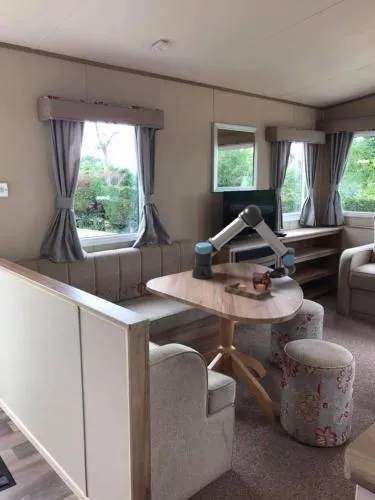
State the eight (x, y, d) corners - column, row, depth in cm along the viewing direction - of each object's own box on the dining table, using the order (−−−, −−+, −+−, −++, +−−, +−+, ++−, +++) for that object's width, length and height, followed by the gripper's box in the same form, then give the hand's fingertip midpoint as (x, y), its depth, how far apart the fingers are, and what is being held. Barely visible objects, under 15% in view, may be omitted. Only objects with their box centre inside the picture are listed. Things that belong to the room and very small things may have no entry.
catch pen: (224, 291, 258) (224, 286, 257) (238, 286, 269) (238, 282, 268) (257, 300, 242) (257, 295, 242) (270, 295, 253) (271, 290, 253)
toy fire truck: (270, 291, 261) (271, 275, 259) (250, 288, 265) (251, 273, 263) (271, 288, 268) (272, 272, 266) (252, 286, 272) (253, 270, 269)
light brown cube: (237, 285, 257) (242, 284, 260) (237, 291, 258) (241, 290, 260) (242, 287, 254) (247, 286, 257) (242, 293, 255) (246, 292, 257)
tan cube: (256, 291, 260) (256, 285, 259) (259, 290, 263) (259, 283, 263) (262, 292, 258) (262, 286, 257) (264, 291, 261) (265, 285, 260)
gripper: (272, 265, 288) (254, 270, 270) (289, 268, 280) (272, 273, 262) (271, 275, 289) (253, 281, 272) (288, 279, 281) (271, 285, 263)
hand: (262, 277), depth 267 cm, fingers closed
